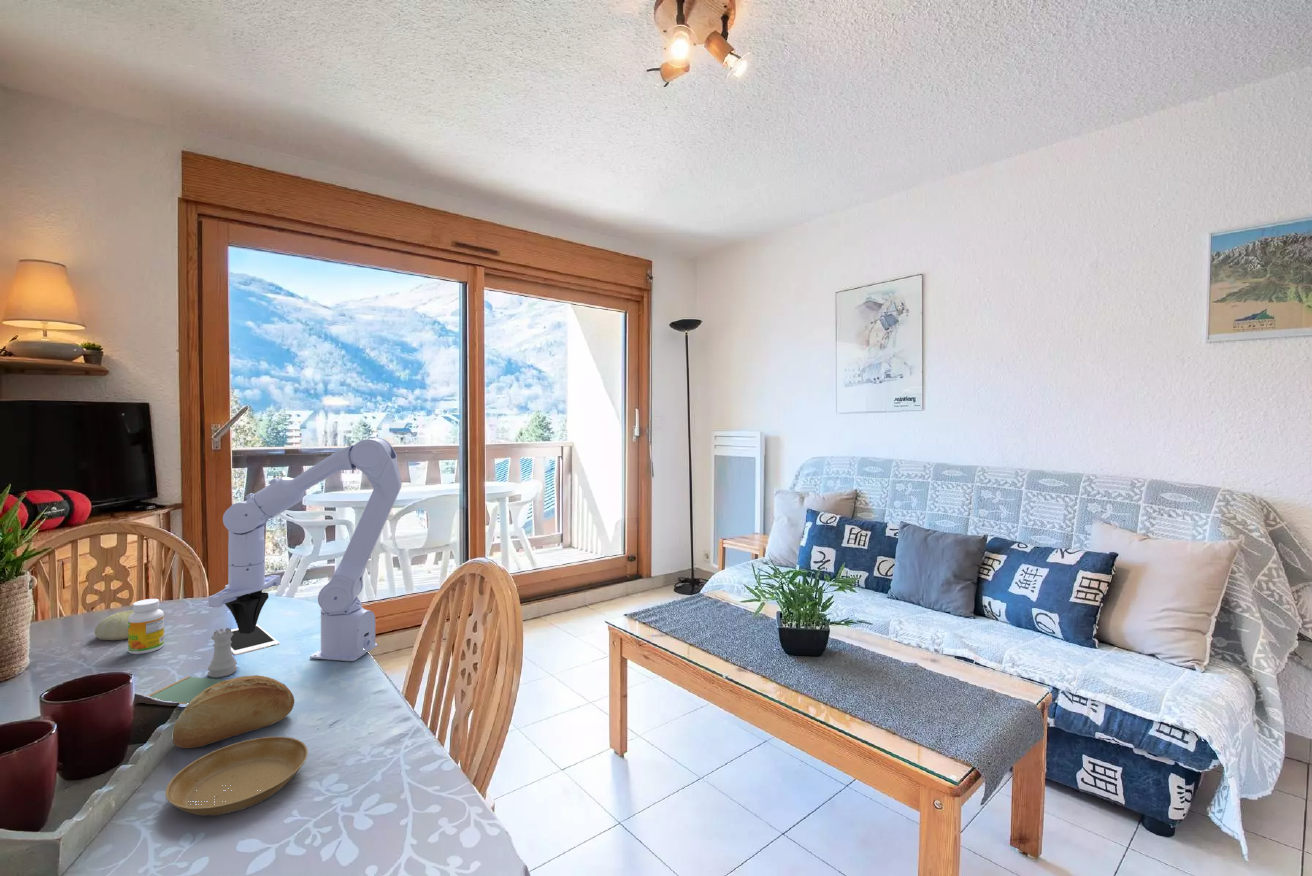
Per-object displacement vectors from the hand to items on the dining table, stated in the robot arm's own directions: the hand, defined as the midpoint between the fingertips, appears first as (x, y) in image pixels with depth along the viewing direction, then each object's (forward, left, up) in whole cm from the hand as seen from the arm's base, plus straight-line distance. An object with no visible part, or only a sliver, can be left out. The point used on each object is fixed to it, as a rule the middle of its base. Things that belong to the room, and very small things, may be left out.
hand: (247, 632), depth 110 cm
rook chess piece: (0, +5, -6) cm, 8 cm away
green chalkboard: (-2, +13, -6) cm, 14 cm away
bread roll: (-19, +22, -6) cm, 30 cm away
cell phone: (+9, -10, -6) cm, 15 cm away
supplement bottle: (+24, -2, -6) cm, 25 cm away
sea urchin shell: (+36, -8, -6) cm, 37 cm away
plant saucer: (-30, +33, -6) cm, 45 cm away
